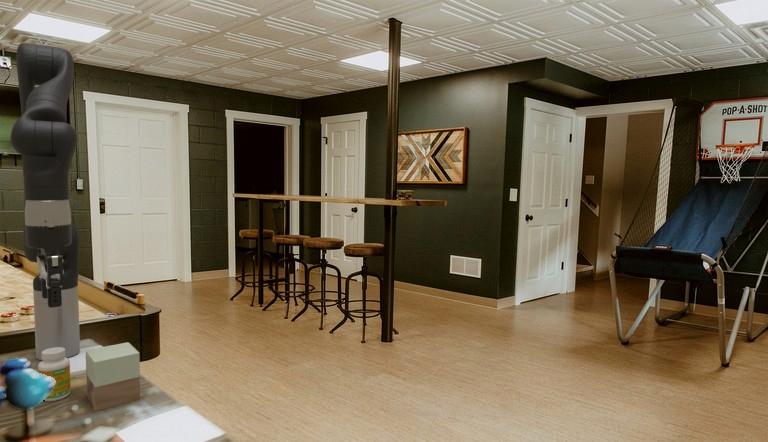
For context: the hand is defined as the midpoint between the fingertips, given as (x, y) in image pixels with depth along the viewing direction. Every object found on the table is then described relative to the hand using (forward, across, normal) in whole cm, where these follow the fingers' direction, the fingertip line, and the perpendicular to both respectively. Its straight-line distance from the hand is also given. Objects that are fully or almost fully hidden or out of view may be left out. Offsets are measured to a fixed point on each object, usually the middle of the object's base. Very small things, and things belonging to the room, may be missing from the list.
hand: (51, 302), depth 97 cm
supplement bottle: (+20, 0, 0) cm, 20 cm away
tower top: (+15, +8, +9) cm, 19 cm away
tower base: (+20, +8, +9) cm, 23 cm away
